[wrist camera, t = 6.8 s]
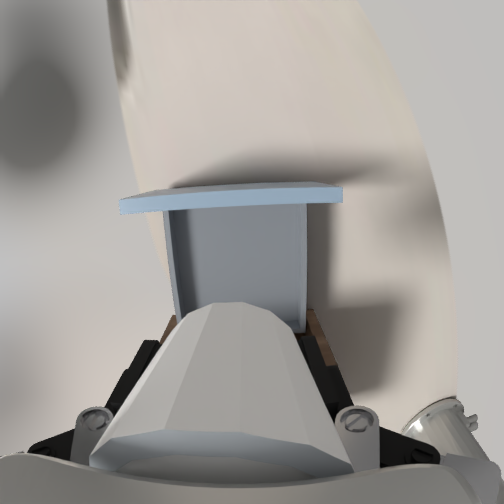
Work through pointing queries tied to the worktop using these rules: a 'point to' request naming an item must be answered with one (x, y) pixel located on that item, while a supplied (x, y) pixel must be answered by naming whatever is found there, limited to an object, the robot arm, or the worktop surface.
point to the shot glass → (225, 407)
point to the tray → (238, 243)
